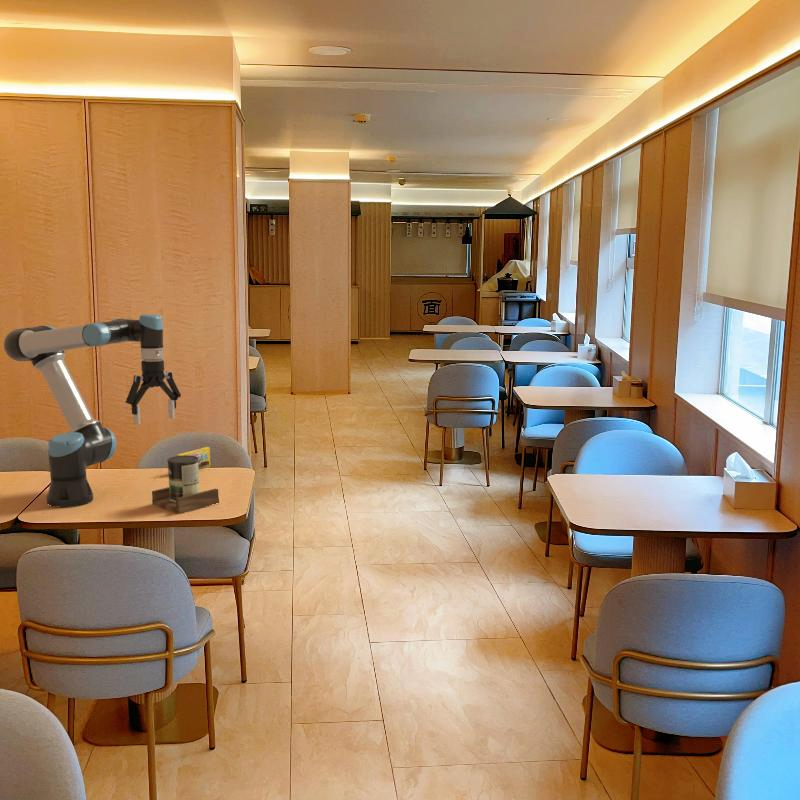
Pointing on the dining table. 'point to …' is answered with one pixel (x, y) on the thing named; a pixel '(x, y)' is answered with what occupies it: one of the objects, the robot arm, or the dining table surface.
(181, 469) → the coffee can
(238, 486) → the dining table surface
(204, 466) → the candy box
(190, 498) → the stand
